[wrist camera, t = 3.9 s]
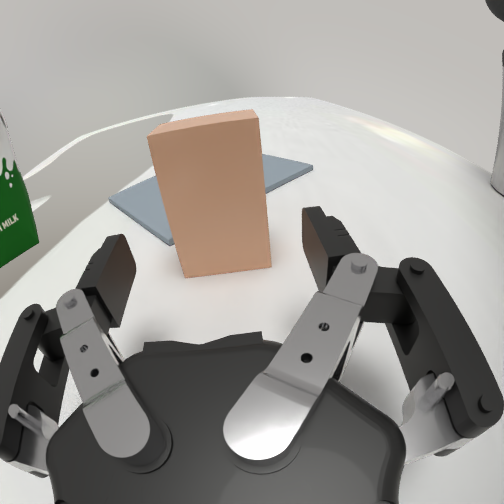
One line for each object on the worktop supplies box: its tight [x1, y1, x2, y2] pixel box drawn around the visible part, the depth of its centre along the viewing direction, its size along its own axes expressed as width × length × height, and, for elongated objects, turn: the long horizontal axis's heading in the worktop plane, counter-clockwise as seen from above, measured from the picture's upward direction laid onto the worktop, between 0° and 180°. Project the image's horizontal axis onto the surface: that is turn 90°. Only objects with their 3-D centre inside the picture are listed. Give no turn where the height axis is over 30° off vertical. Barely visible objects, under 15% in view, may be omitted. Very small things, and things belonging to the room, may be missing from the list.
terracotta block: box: [147, 109, 271, 278], centre depth 18 cm, size 4×6×10 cm, turn 95°
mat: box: [109, 154, 313, 246], centre depth 33 cm, size 20×16×1 cm
